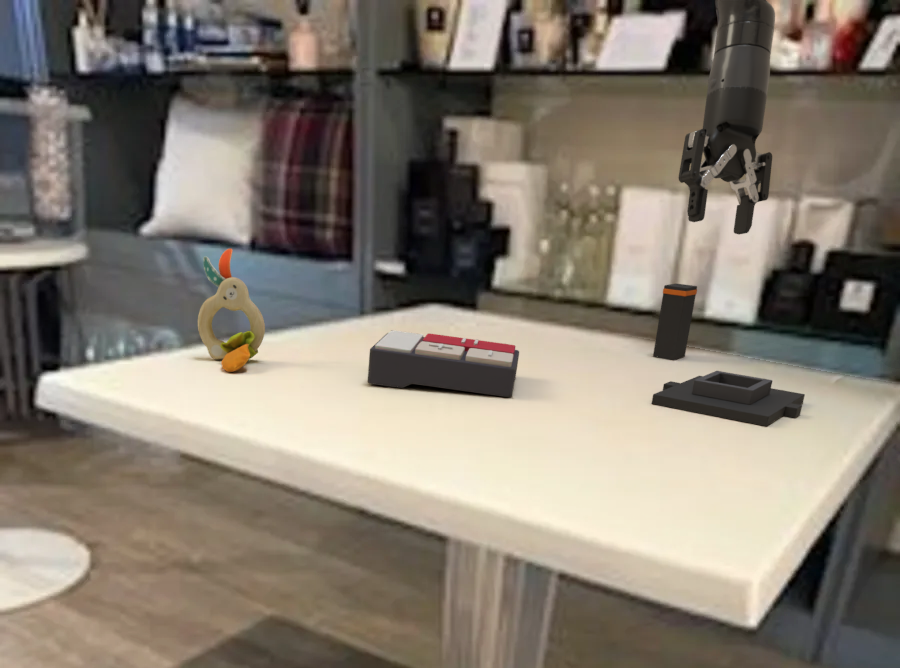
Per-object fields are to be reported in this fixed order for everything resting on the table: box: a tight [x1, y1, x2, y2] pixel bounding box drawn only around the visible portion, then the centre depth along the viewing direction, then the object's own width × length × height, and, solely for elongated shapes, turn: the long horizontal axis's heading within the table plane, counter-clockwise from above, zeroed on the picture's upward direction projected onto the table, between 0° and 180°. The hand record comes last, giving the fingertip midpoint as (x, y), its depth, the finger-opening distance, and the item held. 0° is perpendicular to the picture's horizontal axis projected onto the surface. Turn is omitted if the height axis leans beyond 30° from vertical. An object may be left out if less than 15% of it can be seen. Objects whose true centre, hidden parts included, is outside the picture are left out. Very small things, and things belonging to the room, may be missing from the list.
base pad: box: [651, 370, 806, 427], centre depth 93 cm, size 14×14×2 cm
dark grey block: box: [652, 283, 698, 361], centre depth 115 cm, size 4×3×9 cm
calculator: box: [367, 329, 520, 398], centre depth 94 cm, size 11×4×15 cm
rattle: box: [197, 248, 266, 373], centre depth 93 cm, size 8×8×12 cm
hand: (719, 227), depth 116 cm, fingers open, 8 cm apart
